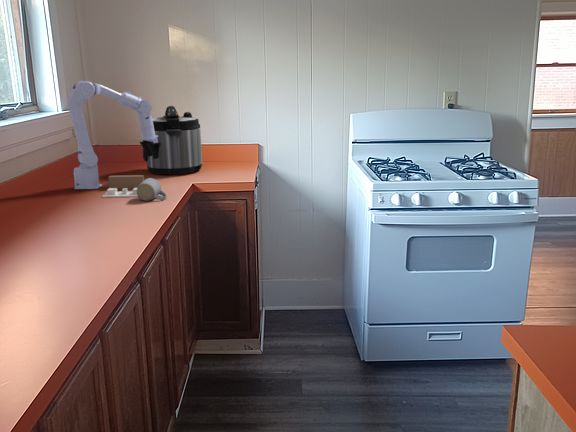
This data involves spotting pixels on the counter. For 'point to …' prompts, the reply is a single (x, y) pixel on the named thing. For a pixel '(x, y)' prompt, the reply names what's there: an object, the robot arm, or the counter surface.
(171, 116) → the pressure cooker
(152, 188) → the ceramic mug
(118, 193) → the display stand
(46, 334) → the counter surface
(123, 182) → the frame bar
